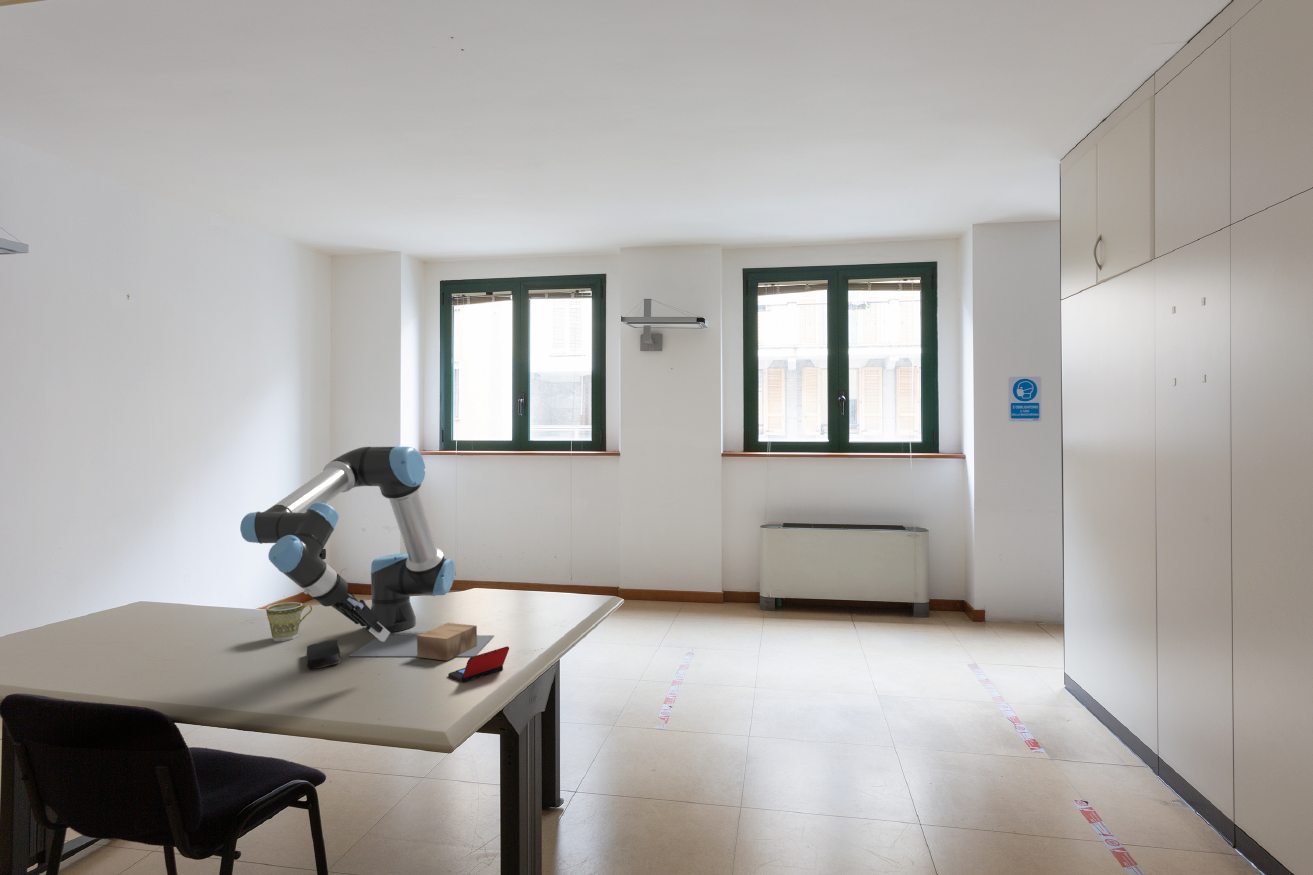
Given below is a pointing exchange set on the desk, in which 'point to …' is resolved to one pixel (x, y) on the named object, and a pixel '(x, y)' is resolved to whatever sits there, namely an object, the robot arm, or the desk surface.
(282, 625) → the ceramic cup
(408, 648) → the felt pad
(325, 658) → the black sponge
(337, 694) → the desk surface
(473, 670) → the handheld game console
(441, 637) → the walnut block
